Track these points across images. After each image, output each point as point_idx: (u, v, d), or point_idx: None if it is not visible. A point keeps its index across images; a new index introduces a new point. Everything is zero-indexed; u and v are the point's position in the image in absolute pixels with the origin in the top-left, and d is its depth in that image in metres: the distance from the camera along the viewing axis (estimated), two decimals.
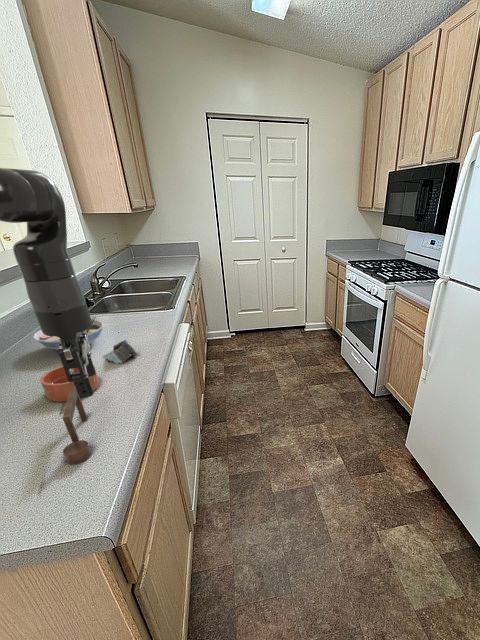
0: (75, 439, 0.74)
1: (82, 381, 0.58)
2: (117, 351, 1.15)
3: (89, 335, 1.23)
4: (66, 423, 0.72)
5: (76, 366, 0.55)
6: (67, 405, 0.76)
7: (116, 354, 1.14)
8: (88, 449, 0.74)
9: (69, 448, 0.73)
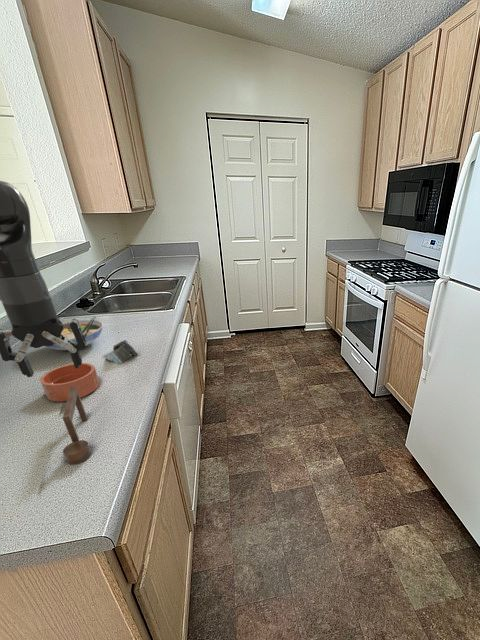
0: (75, 439, 0.74)
1: None
2: (117, 351, 1.15)
3: (89, 335, 1.23)
4: (66, 423, 0.72)
5: None
6: (67, 405, 0.76)
7: (116, 354, 1.14)
8: (88, 449, 0.74)
9: (69, 448, 0.73)
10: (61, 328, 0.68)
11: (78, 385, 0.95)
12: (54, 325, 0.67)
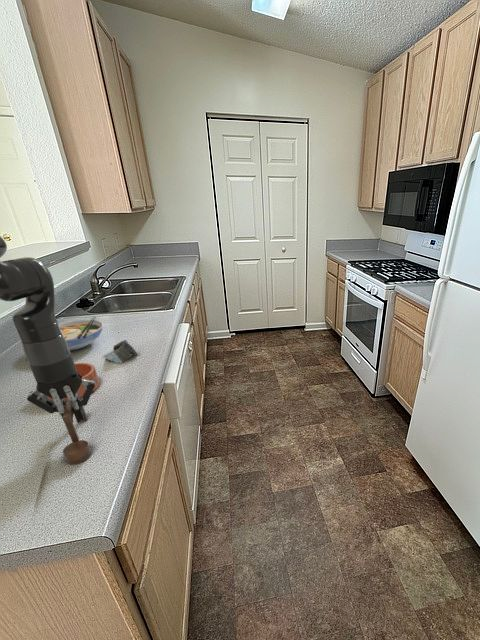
0: (75, 439, 0.74)
1: None
2: (117, 351, 1.15)
3: (89, 335, 1.23)
4: (66, 423, 0.72)
5: None
6: (67, 405, 0.76)
7: (116, 354, 1.15)
8: (88, 449, 0.74)
9: (69, 448, 0.73)
10: (80, 381, 0.74)
11: None
12: (76, 379, 0.74)
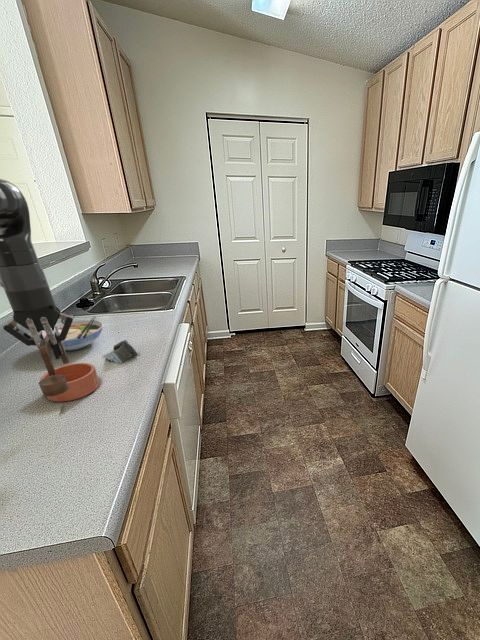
0: (52, 372, 0.74)
1: (38, 346, 0.75)
2: (117, 351, 1.15)
3: (89, 335, 1.23)
4: (42, 354, 0.72)
5: None
6: (45, 339, 0.75)
7: (116, 354, 1.15)
8: (64, 383, 0.74)
9: (45, 380, 0.73)
10: (58, 314, 0.74)
11: (78, 385, 0.95)
12: (54, 311, 0.73)
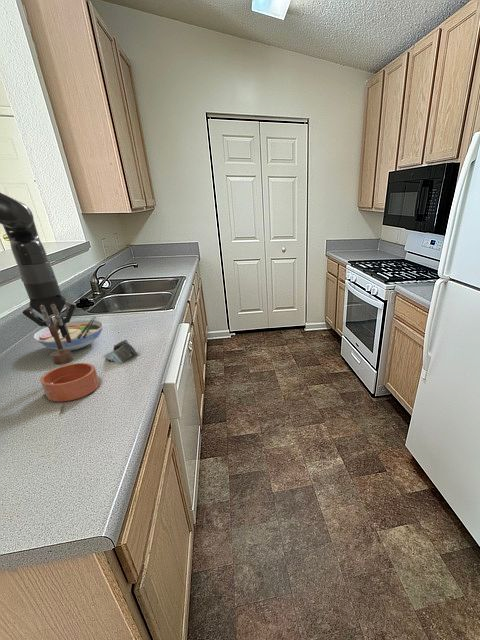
0: (60, 347, 0.96)
1: (48, 327, 0.97)
2: (117, 351, 1.15)
3: (89, 335, 1.23)
4: (53, 332, 0.93)
5: None
6: (54, 321, 0.97)
7: (116, 354, 1.15)
8: (70, 354, 0.96)
9: (55, 353, 0.95)
10: (64, 302, 0.96)
11: (78, 385, 0.95)
12: (61, 299, 0.95)
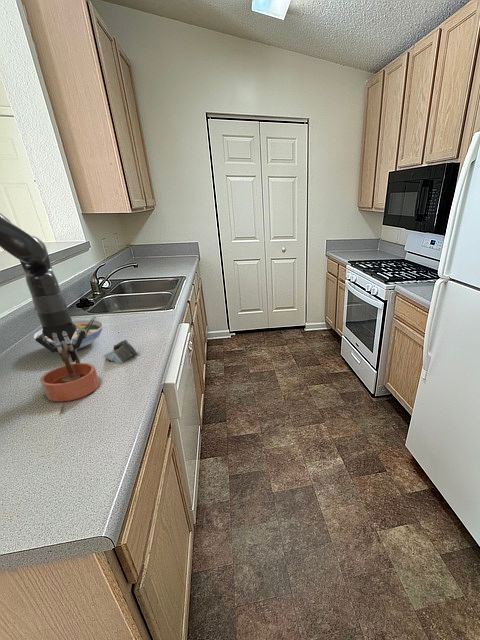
0: (70, 372, 1.00)
1: None
2: (118, 351, 1.15)
3: (89, 335, 1.23)
4: (64, 358, 0.98)
5: None
6: (65, 347, 1.02)
7: (117, 354, 1.15)
8: None
9: (66, 378, 0.99)
10: (74, 329, 1.00)
11: (78, 385, 0.95)
12: (71, 327, 1.00)
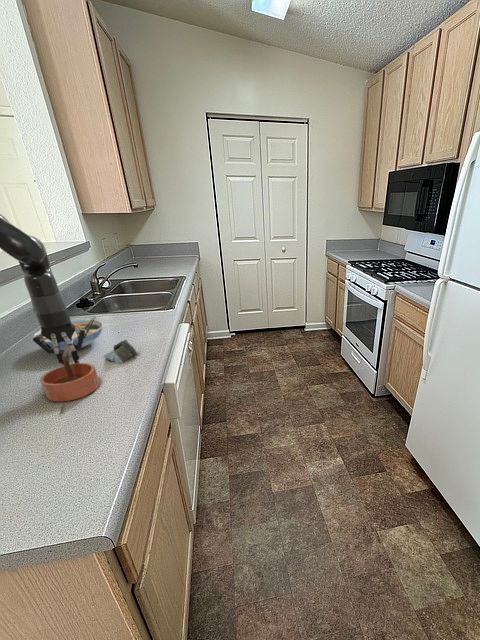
0: (70, 375, 1.00)
1: (56, 354, 1.00)
2: (118, 351, 1.15)
3: (89, 335, 1.23)
4: (64, 361, 0.98)
5: None
6: (65, 351, 1.02)
7: (117, 354, 1.15)
8: None
9: (66, 381, 0.99)
10: (73, 329, 0.99)
11: (78, 385, 0.95)
12: (70, 327, 0.99)
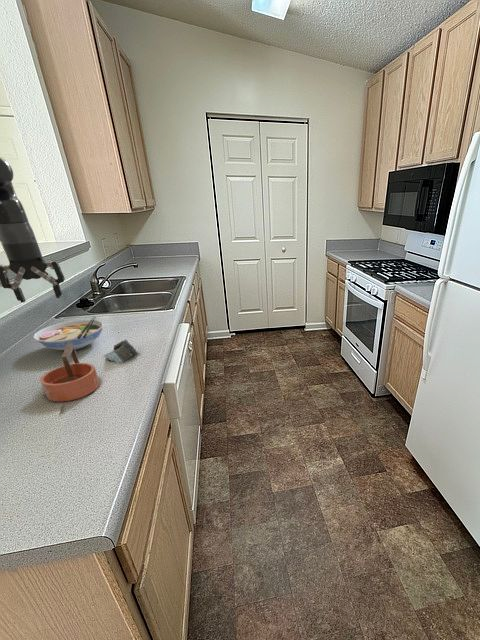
0: (70, 375, 1.00)
1: (13, 290, 0.92)
2: (118, 351, 1.15)
3: (89, 335, 1.23)
4: (64, 361, 0.98)
5: None
6: (65, 351, 1.02)
7: (117, 354, 1.15)
8: None
9: (66, 381, 0.99)
10: (45, 265, 0.93)
11: (78, 385, 0.95)
12: (40, 263, 0.92)
